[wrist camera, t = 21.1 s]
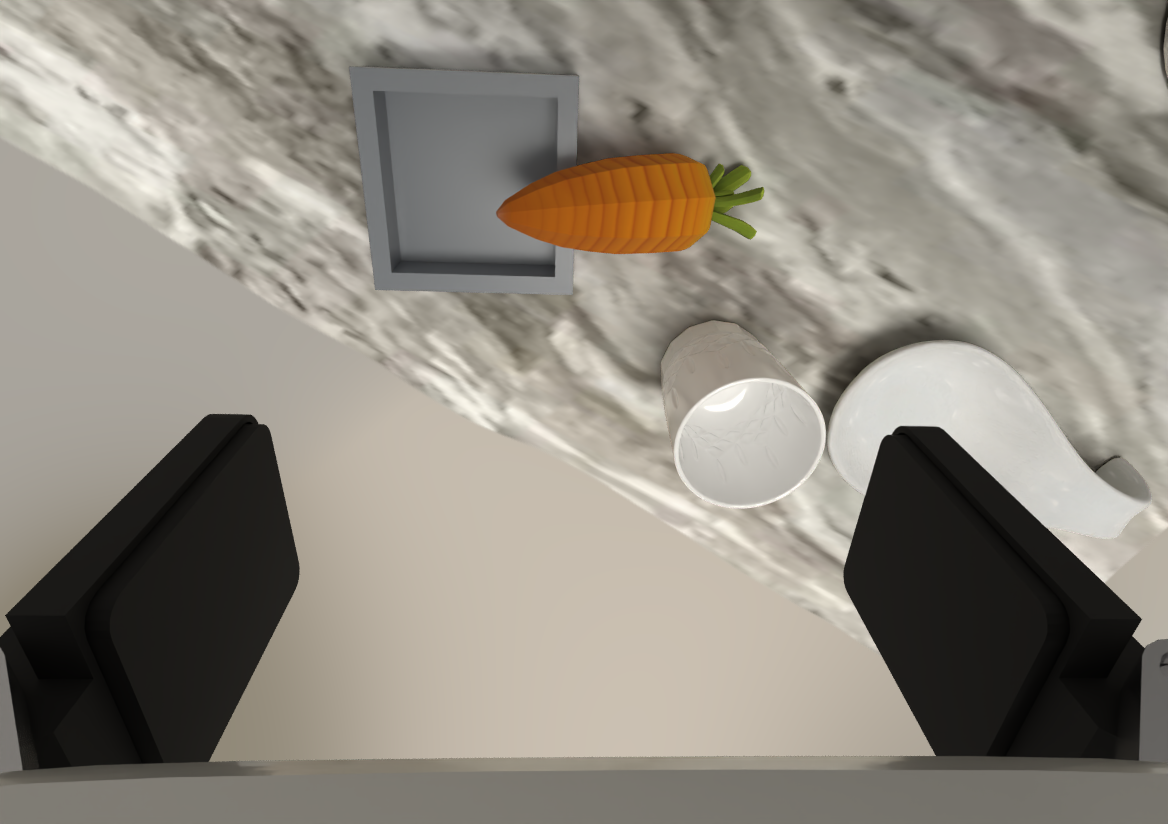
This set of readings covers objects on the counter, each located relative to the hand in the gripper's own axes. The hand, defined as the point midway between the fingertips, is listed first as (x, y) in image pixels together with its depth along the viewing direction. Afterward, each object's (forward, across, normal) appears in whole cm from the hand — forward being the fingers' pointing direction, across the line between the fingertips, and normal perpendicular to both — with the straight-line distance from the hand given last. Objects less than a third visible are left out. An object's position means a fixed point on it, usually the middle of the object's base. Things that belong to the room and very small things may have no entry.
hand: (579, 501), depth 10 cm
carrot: (+23, +3, 0) cm, 23 cm away
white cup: (+31, -10, +11) cm, 34 cm away
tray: (+30, +5, 0) cm, 31 cm away
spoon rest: (+31, -29, +16) cm, 45 cm away
